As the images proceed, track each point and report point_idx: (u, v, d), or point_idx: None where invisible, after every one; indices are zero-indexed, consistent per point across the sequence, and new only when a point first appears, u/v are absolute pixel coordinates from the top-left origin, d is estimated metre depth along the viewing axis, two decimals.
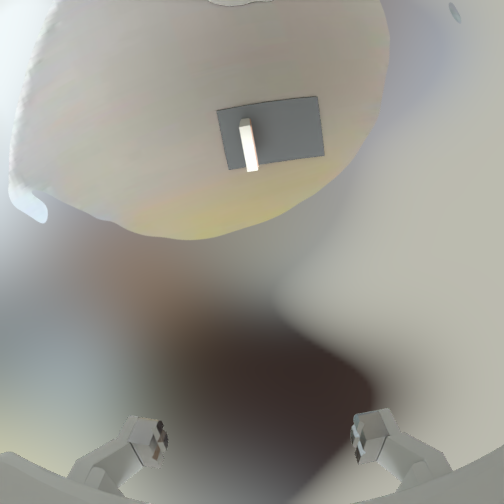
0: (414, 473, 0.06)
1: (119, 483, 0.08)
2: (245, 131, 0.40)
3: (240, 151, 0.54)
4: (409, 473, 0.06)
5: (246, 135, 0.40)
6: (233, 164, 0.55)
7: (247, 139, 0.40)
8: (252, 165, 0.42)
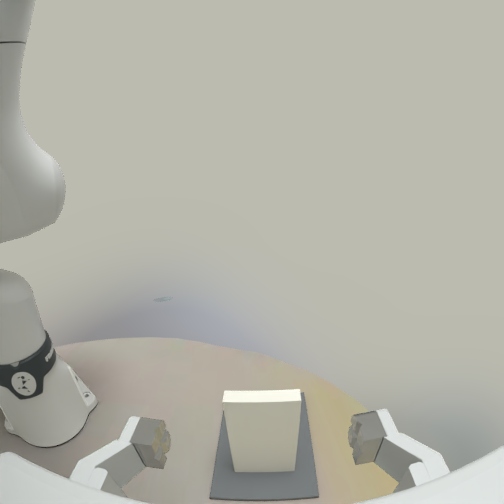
0: (411, 474, 0.06)
1: (121, 483, 0.08)
2: (232, 396, 0.24)
3: (287, 479, 0.25)
4: (406, 474, 0.06)
5: (239, 396, 0.24)
6: (309, 489, 0.24)
7: (246, 395, 0.24)
8: (290, 394, 0.24)
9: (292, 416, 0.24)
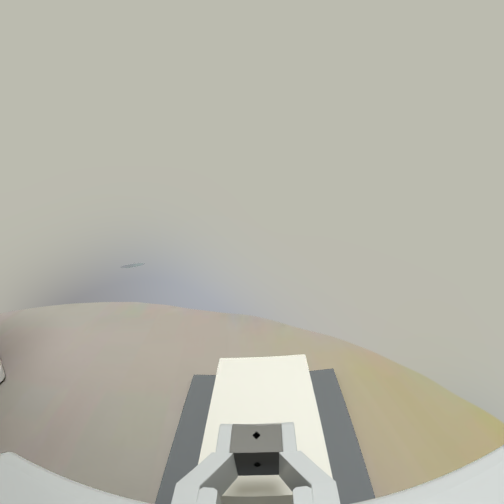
0: (293, 498, 0.06)
1: None
2: None
3: None
4: (292, 496, 0.07)
5: None
6: None
7: None
8: None
9: (299, 370, 0.21)
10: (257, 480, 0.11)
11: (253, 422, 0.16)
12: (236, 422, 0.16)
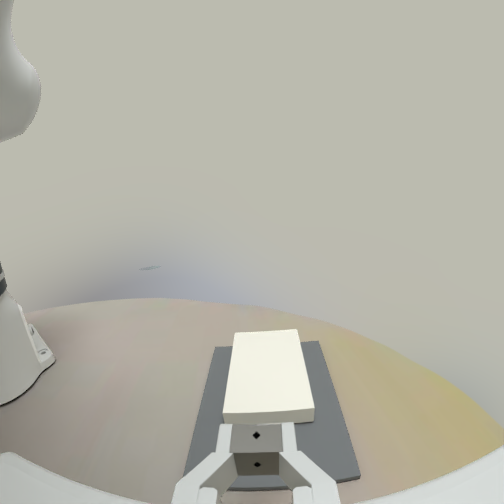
0: (293, 498, 0.06)
1: None
2: None
3: (307, 452, 0.17)
4: (292, 496, 0.07)
5: None
6: (344, 466, 0.15)
7: None
8: None
9: (292, 339, 0.30)
10: (264, 402, 0.21)
11: (260, 370, 0.25)
12: (249, 370, 0.25)
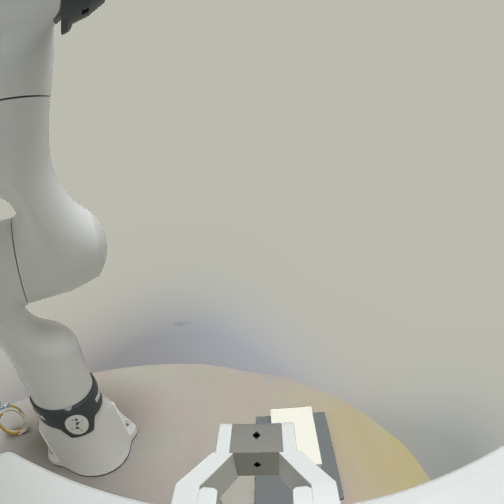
0: (293, 498, 0.06)
1: None
2: None
3: None
4: (292, 496, 0.07)
5: None
6: None
7: None
8: None
9: (308, 415, 0.43)
10: None
11: None
12: None
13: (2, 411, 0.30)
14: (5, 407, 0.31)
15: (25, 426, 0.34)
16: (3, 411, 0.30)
